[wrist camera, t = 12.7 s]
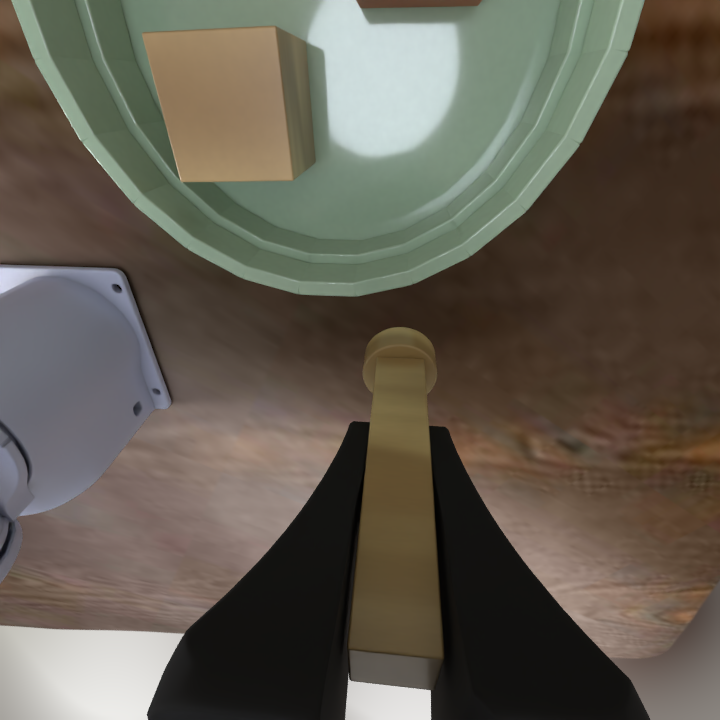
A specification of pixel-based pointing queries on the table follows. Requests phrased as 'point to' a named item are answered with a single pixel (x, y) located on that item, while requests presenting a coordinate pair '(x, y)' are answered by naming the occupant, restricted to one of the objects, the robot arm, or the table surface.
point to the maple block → (234, 102)
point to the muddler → (397, 523)
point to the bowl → (350, 126)
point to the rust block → (415, 3)
